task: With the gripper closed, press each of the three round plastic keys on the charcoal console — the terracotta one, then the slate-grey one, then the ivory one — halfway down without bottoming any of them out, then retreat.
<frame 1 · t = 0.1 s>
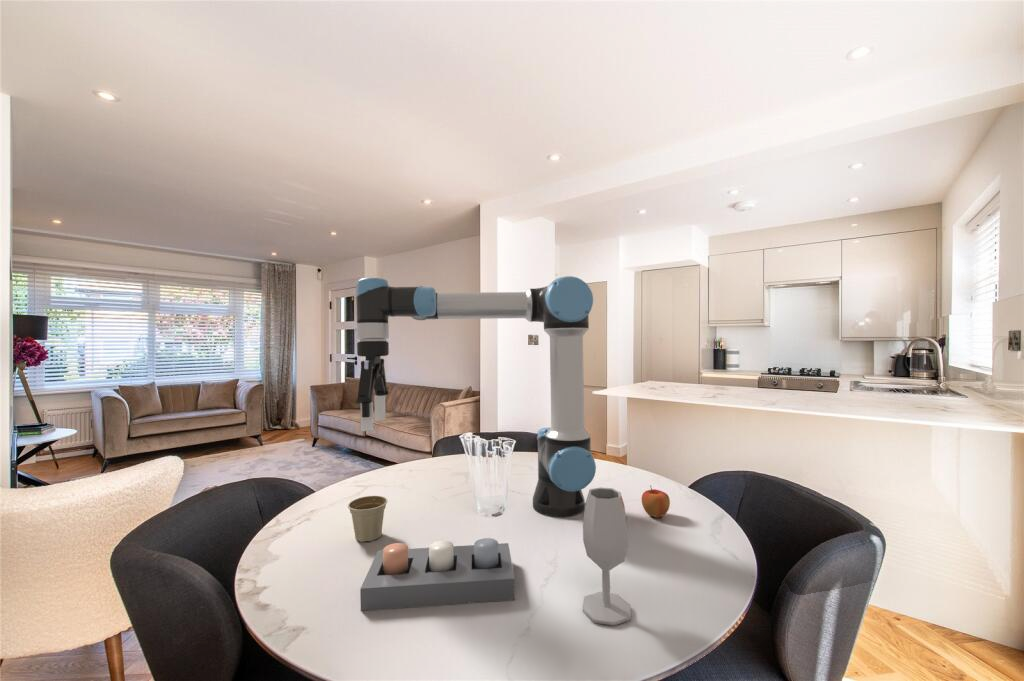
hand: (374, 425, 105), 28 cm above the table, fingers open, 13 cm apart
terracotta key: (395, 558, 83), point 6 cm above the table, slide at 0.0 cm
ivory key: (441, 556, 84), point 5 cm above the table, slide at 0.0 cm
flower pot: (368, 537, 105), on the table
apple: (655, 517, 115), on the table
slate key: (486, 553, 85), point 5 cm above the table, slide at 0.0 cm
wineglass: (606, 612, 75), on the table
console: (441, 583, 84), on the table
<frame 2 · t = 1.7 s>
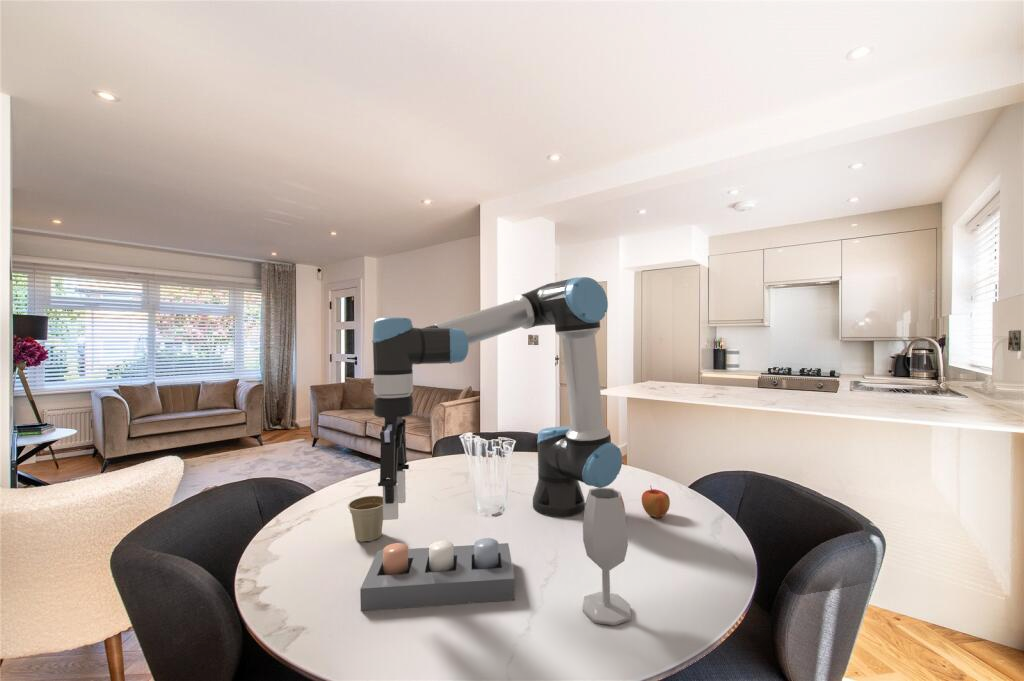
hand: (394, 510, 84), 15 cm above the table, fingers open, 8 cm apart
nothing on the table moved.
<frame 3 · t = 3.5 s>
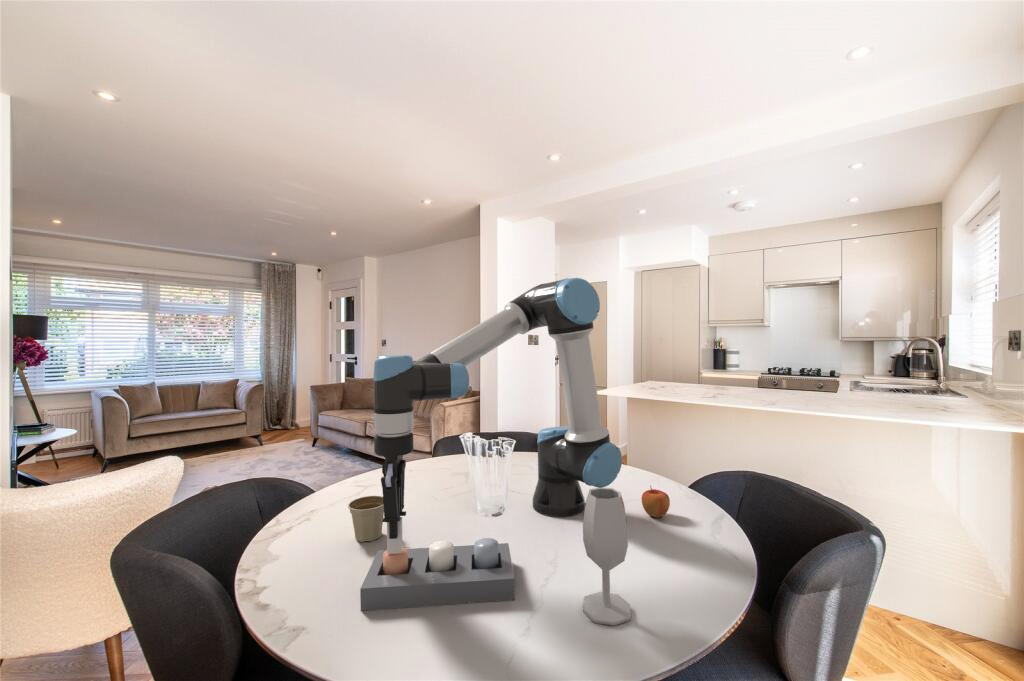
hand: (394, 551, 83), 7 cm above the table, fingers closed
terracotta key: (395, 563, 83), point 5 cm above the table, slide at 0.8 cm, touching gripper
everything else where it was.
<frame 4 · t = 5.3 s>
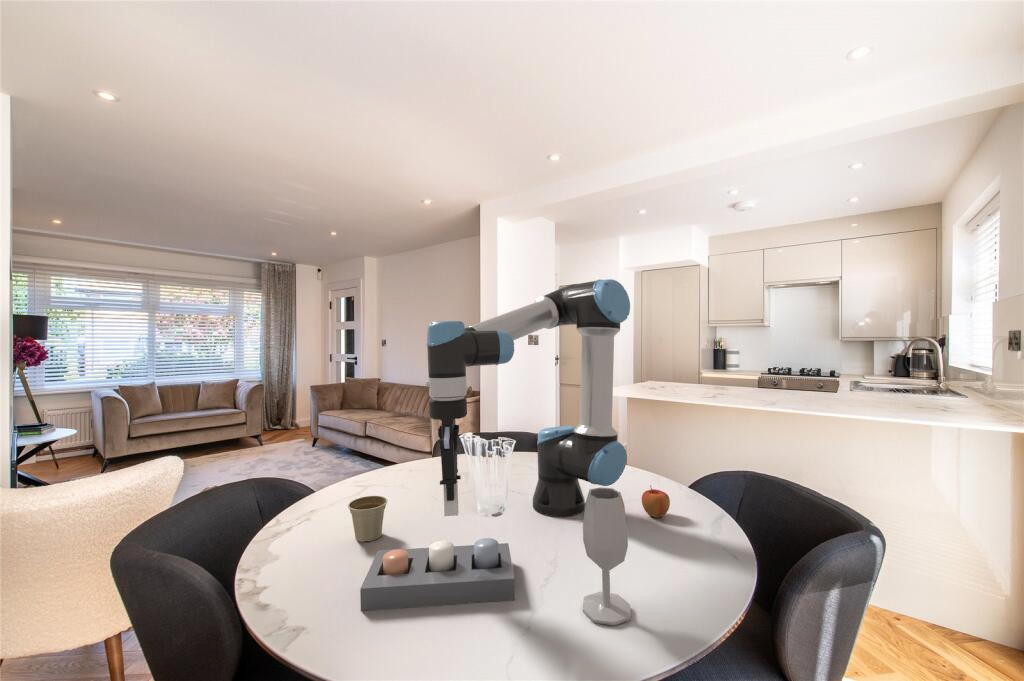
hand: (451, 514, 85), 14 cm above the table, fingers closed
terracotta key: (395, 565, 83), point 4 cm above the table, slide at 1.3 cm
everything else where it was.
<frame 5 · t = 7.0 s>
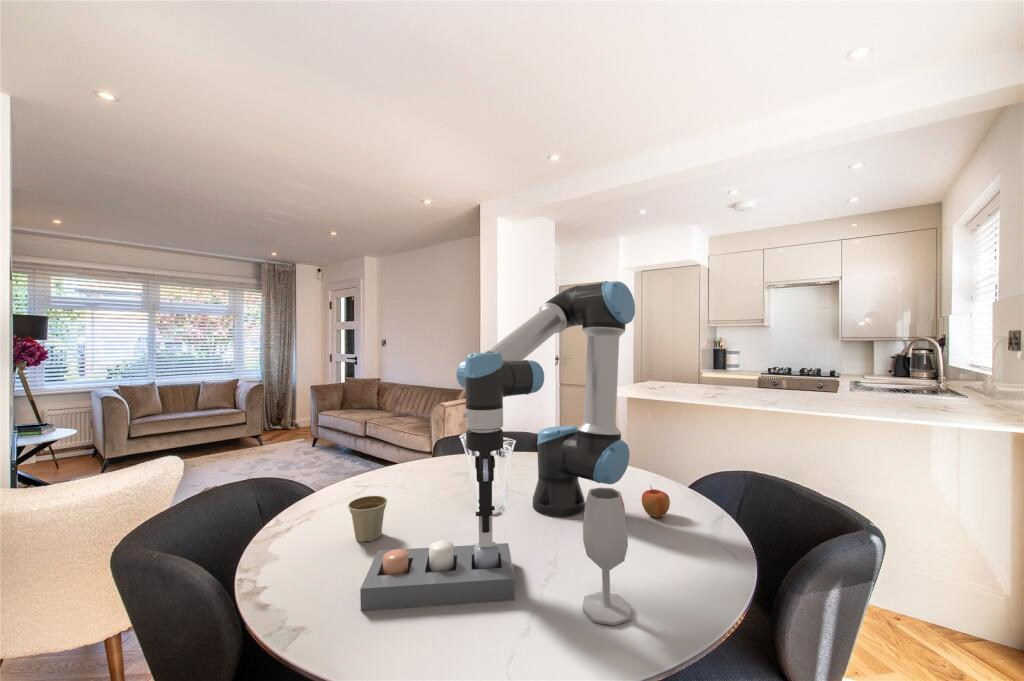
hand: (485, 545, 85), 7 cm above the table, fingers closed
slate key: (486, 556, 85), point 5 cm above the table, slide at 0.6 cm, touching gripper
everything else where it was.
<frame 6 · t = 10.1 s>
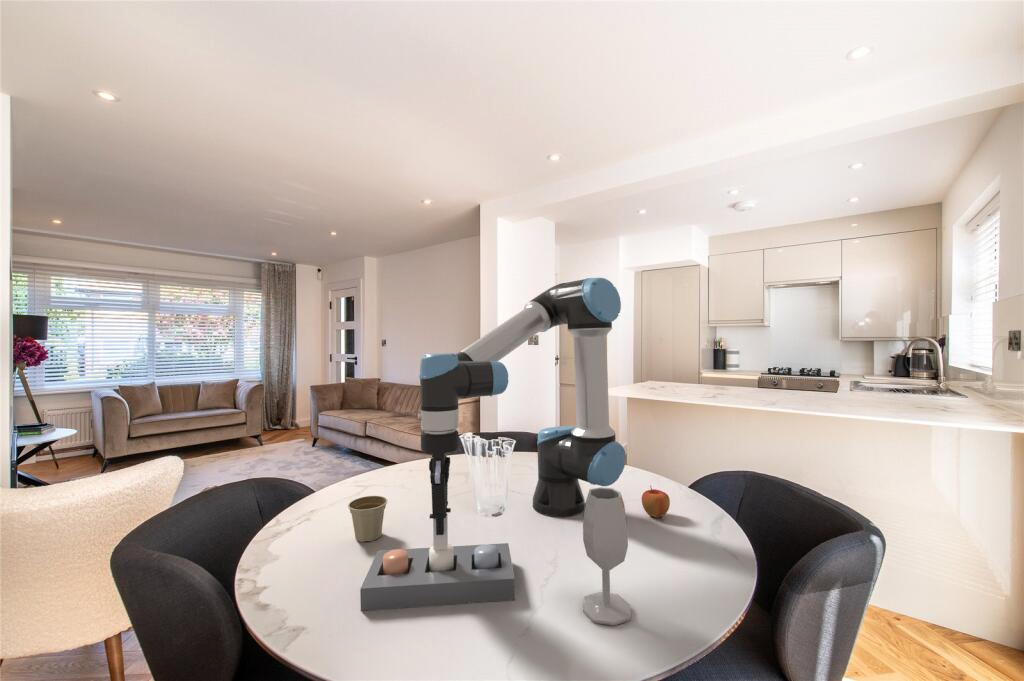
hand: (440, 548, 84), 7 cm above the table, fingers closed
ivory key: (441, 559, 84), point 5 cm above the table, slide at 0.6 cm, touching gripper
slate key: (486, 559, 85), point 4 cm above the table, slide at 1.3 cm
everything else where it was.
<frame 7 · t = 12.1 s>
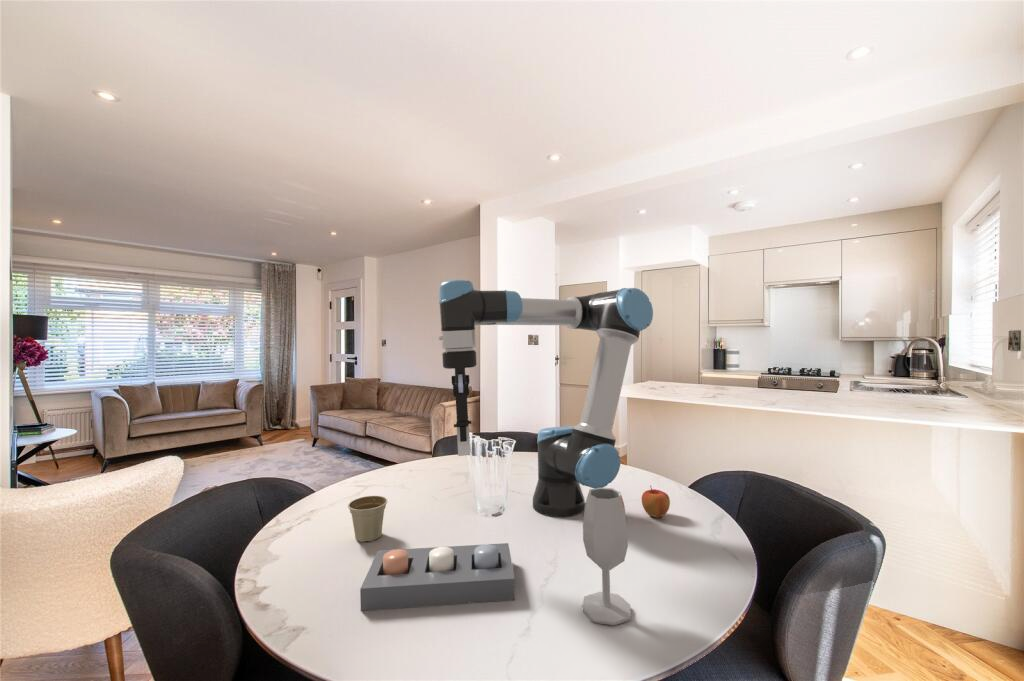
hand: (464, 454, 95), 23 cm above the table, fingers closed
ivory key: (441, 562, 84), point 4 cm above the table, slide at 1.3 cm
everything else where it was.
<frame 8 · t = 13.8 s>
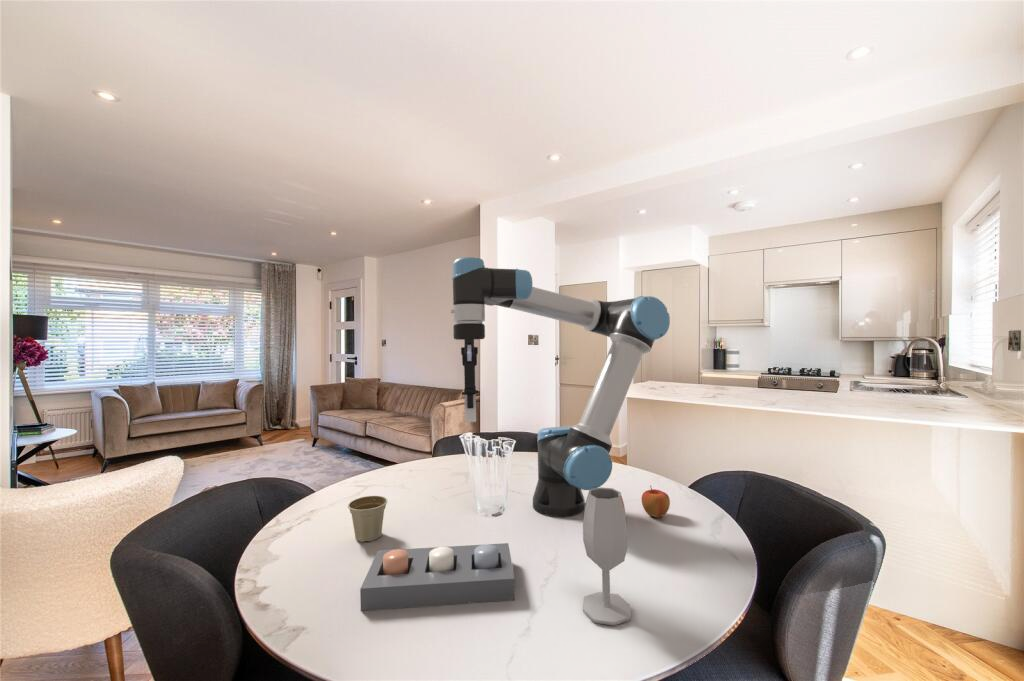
hand: (470, 421, 101), 29 cm above the table, fingers closed
nothing on the table moved.
at the end: terracotta key slide at 1.3 cm; slate key slide at 1.3 cm; ivory key slide at 1.3 cm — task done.
